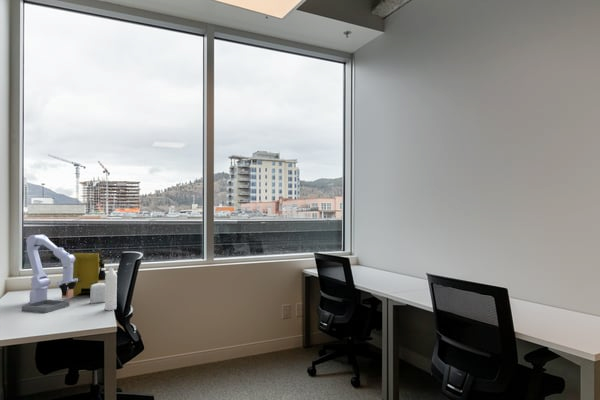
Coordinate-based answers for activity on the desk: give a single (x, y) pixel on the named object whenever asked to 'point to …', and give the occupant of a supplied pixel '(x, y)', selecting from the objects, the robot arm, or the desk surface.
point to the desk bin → (45, 306)
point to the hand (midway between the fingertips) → (67, 294)
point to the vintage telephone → (87, 272)
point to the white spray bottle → (110, 289)
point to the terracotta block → (68, 294)
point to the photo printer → (97, 293)
